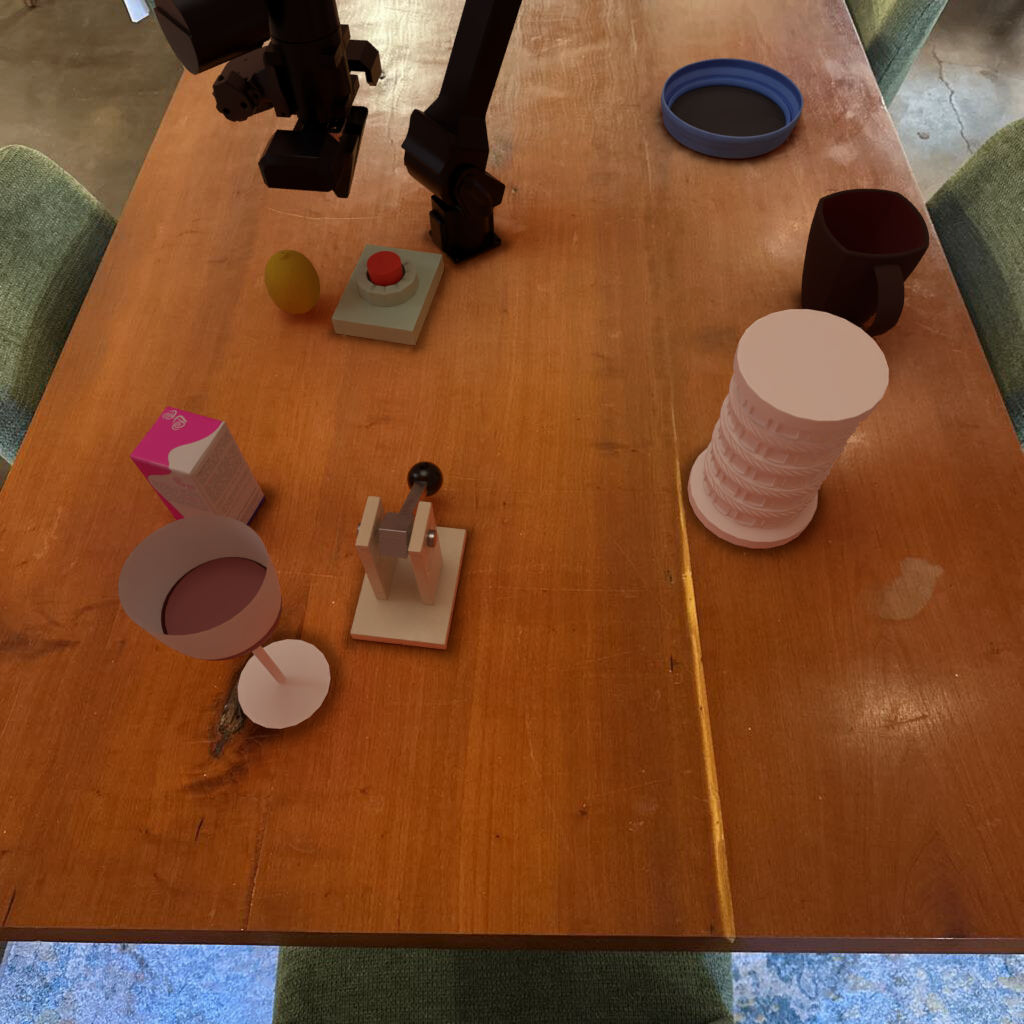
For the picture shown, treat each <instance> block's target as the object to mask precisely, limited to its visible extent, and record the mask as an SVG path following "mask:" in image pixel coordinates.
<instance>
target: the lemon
mask: <svg viewBox="0 0 1024 1024" xmlns="http://www.w3.org/2000/svg"><path fill="white" fill-rule="evenodd" d="M264 268H265V269H264V283H265V287H266V290H267V293H268V296H269V298H270V299H271V301H272V302H273V303H274V305H275V306H276V307H277V308H279V309H280V310H281V311H283V312H285V313H288V314H290V315H291V314H292V315H303V314H305V313H308V312H310V311H311V310H312V309H314V308H315V307H316V305H317V303H318V302H319V300H320V297H321V292H322V291H321V289H322V288H321V281H320V276H319V274H318V272H317V270H316V268H315V266H314V265H313V262H312V261H311V260H310V259H309V258H308V257H307V256H306V255H305V254H304V253H302V252H299V251H297V250H294V249H282V250H279V251H276V252H275V253H273V255H271V256H270V257H269V259H268V260H267V262H266V264H265V267H264Z"/></svg>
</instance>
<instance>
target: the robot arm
mask: <svg viewBox="0 0 1024 1024" xmlns="http://www.w3.org/2000/svg"><path fill="white" fill-rule="evenodd" d="M153 2H154V6H155V7H153V12H154V15H155V17H156V20H157V22H158V24H159V27H160V29H161V31H162V33H163V36H164V37H165V39H166V41H167V43H168V45H169V47H170V48H171V50H172V52H173V53H174V54H175V56H176V58H177V59H178V60H179V62H180V63H181V64H182V66H183V67H184V68H185V69H186V70H187V71H188V72H189V73H190V74H192V75H194V76H197V75H199V74H202V73H205V72H206V71H209V70H212V69H214V68H216V67H219V66H221V65H223V64H225V63H226V64H225V65H224V66H223V68H222V71H221V72H220V74H219V75H218V76H217V77H216V79H215V81H214V82H213V84H212V93H211V94H212V96H213V98H214V100H215V109H216V110H217V112H218V113H220V114H222V115H223V117H224V118H225V119H226V120H228V121H230V122H231V123H237V122H245V121H247V120H248V119H249V118H250V117H253V116H254V115H258V114H261V113H264V112H266V111H269V110H271V109H274V113H275V117H276V118H287V119H290V118H291V117H292V116H296V119H297V120H296V123H295V125H294V127H293V128H292V129H276V130H275V131H274V133H273V134H272V135H271V137H270V138H269V140H268V142H267V143H266V146H265V148H264V150H263V151H262V154H261V156H260V157H259V160H258V162H257V165H258V169H259V172H260V175H261V178H262V181H263V183H264V185H265V186H266V187H267V188H268V189H278V190H290V191H291V190H293V191H304V192H305V191H306V192H319V193H320V192H321V193H330V192H333V194H334V195H335V196H336V197H337V198H338V199H349V196H350V194H351V189H352V185H353V180H354V176H355V172H356V167H357V162H358V158H359V155H360V149H361V144H362V140H363V136H364V132H365V128H366V124H367V120H368V116H369V108H368V107H367V106H364V105H353V104H354V102H355V99H356V97H357V95H358V92H359V89H360V87H361V85H360V79H359V74H355V73H352V72H356V73H364V74H365V80H366V84H368V86H369V87H377V85H378V82H379V80H380V77H381V75H382V72H383V68H382V63H381V56H380V51H379V50H378V49H377V48H376V47H375V46H374V45H373V44H372V43H371V42H370V41H369V40H368V39H352V36H351V31H350V26H349V24H347V23H341V20H340V15H339V10H338V5H337V0H153ZM522 3H523V0H465V1H464V5H463V9H462V11H461V16H460V20H459V23H458V26H457V30H456V33H455V37H454V42H453V44H452V48H451V51H450V55H449V57H448V58H449V59H448V62H447V66H446V69H445V72H444V75H443V76H444V77H443V79H442V83H441V87H440V91H439V93H438V96H437V98H436V99H435V100H434V101H433V102H432V103H430V104H429V106H428V107H427V108H425V110H424V111H422V110H420V109H418V108H414V109H412V112H411V113H410V116H409V123H408V128H407V133H406V136H405V138H404V139H403V142H402V144H401V145H400V148H401V149H403V150H404V153H403V165H404V167H405V168H406V171H407V173H408V175H410V177H411V178H413V179H414V181H415V180H416V181H417V182H418V183H419V184H421V185H422V186H423V187H424V188H426V189H427V190H428V191H430V192H431V194H432V193H433V194H432V195H430V202H431V203H430V204H431V210H430V211H429V212H428V217H429V226H430V229H429V231H428V235H429V238H431V241H432V243H434V245H435V246H436V247H437V248H438V249H439V250H440V252H441V253H443V254H444V255H446V257H447V258H448V259H449V260H450V261H451V262H452V263H453V264H454V265H460V264H462V263H465V262H467V261H469V260H471V259H473V258H476V257H478V256H480V255H483V254H485V253H487V252H490V251H491V250H495V249H496V248H499V247H501V246H502V245H503V240H502V239H501V237H500V236H499V235H498V234H497V233H496V232H495V215H494V213H495V211H494V209H495V208H497V207H498V206H500V205H501V204H502V203H503V199H504V196H505V191H506V184H505V183H503V182H502V181H501V180H499V179H498V178H497V177H495V176H494V175H492V174H491V173H490V172H489V171H487V170H486V169H487V166H488V160H489V154H490V144H489V136H488V128H487V120H486V119H487V112H488V109H489V107H490V104H491V100H492V97H493V93H494V91H495V88H496V84H497V81H498V78H499V75H500V72H501V69H502V66H503V62H504V59H505V56H506V54H507V50H508V47H509V44H510V42H511V41H510V40H511V38H512V34H513V31H514V28H515V26H516V25H515V24H516V21H517V19H518V15H519V12H520V10H521V6H522ZM268 41H269V42H268ZM266 42H268V44H267V45H264V44H265V43H266Z"/></svg>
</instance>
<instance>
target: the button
mask: <svg viewBox="0 0 1024 1024" xmlns="http://www.w3.org/2000/svg"><path fill="white" fill-rule="evenodd" d="M367 268H368V272H369V277H370V280H371V281H372V282H373V283H374V284H375V285H378V286H384V287H386V286H390V285H394V284H397V283H398V282H399V281H400V280H401V279H402V277H403V269H402V263H401V259H400V257H399V256H398V255H397V254H396V253H394V252H391V251H380V252H377V253H375V254H373V255H372V256H370V257H369V259H368V261H367Z"/></svg>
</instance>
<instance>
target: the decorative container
mask: <svg viewBox="0 0 1024 1024" xmlns="http://www.w3.org/2000/svg"><path fill="white" fill-rule="evenodd" d="M732 370H733V374H732V376H731V379H730V382H729V385H728V386H729V387H728V393H727V395H726V396H725V398H724V400H723V401H722V405H721V408H720V413H719V418H718V419H717V422H716V423H715V425H714V427H713V431H712V435H711V440H710V442H709V444H708V445H707V447H706V448H705V449H704V450H703V451H702V452H701V453H699V455H698V456H697V458H696V459H695V461H694V463H693V465H692V467H691V469H690V473H689V475H688V476H689V477H688V482H687V488H686V489H687V495H688V501H689V504H690V506H691V509H692V510H693V512H694V515H695V516H696V518H697V519H698V520H699V521H700V523H701V524H702V525H703V526H704V528H706V529H707V530H709V532H711V533H712V534H713V535H715V536H716V537H718V538H719V539H721V540H723V541H726V542H728V543H730V544H732V545H734V546H739V547H744V548H748V549H772V548H775V547H780V546H784V545H786V544H788V543H790V542H792V541H793V540H795V539H796V538H798V537H799V536H800V535H801V534H802V533H803V532H804V531H805V530H806V528H807V527H808V526H809V525H810V523H811V521H812V520H813V517H814V515H815V513H816V510H817V508H818V499H819V490H820V489H821V485H823V483H824V481H826V480H827V479H828V476H830V474H831V470H832V469H833V467H834V463H836V461H837V460H838V459H839V458H841V455H842V453H844V451H845V447H846V446H847V445H848V440H849V439H850V438H851V437H852V436H853V434H855V433H856V431H857V428H859V427H860V423H861V422H863V421H865V420H866V419H867V418H868V417H869V416H870V415H871V414H872V413H873V412H874V411H875V410H876V409H877V407H878V406H879V404H880V403H881V401H882V399H883V398H884V396H885V394H886V390H887V389H888V387H889V383H890V379H889V378H890V368H889V366H888V362H887V359H886V356H885V353H884V352H883V351H882V349H881V348H880V346H879V345H878V343H877V342H876V341H875V340H874V339H873V337H870V336H869V335H868V334H867V333H865V332H864V331H863V330H862V329H861V328H859V327H858V326H856V325H854V324H852V323H851V322H849V321H847V320H845V319H843V318H840V317H838V316H835V315H832V314H829V313H827V312H821V311H815V310H809V309H802V308H791V309H789V308H788V309H784V310H780V311H779V310H778V311H775V312H771V313H769V314H767V315H764V316H762V317H760V318H758V319H756V320H755V321H754V322H753V323H752V324H750V325H749V326H748V327H747V328H746V329H745V330H744V332H743V334H742V336H741V338H740V339H739V341H738V344H737V346H736V350H735V353H734V357H733V363H732Z"/></svg>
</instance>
